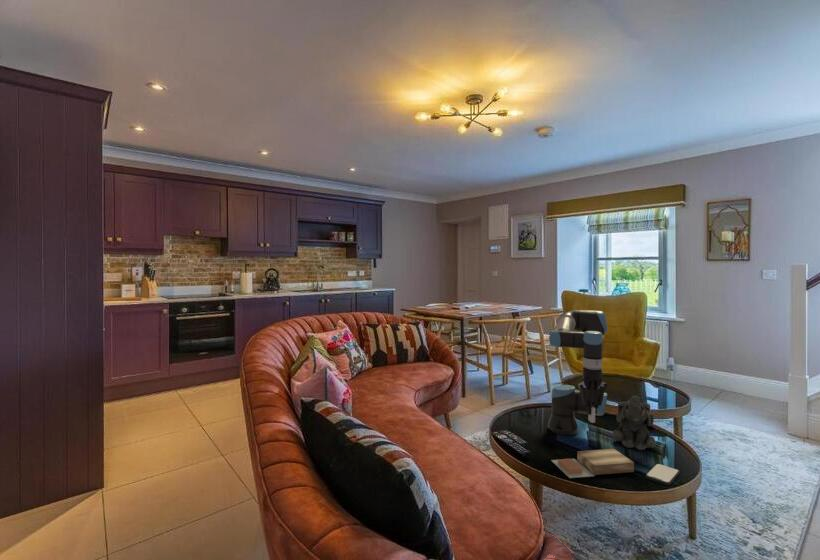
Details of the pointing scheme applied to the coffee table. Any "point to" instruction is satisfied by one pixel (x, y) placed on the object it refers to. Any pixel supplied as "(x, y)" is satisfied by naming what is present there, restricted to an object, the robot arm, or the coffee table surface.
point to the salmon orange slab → (570, 466)
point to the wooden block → (605, 461)
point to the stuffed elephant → (634, 424)
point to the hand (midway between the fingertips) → (591, 421)
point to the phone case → (662, 474)
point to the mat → (584, 474)
